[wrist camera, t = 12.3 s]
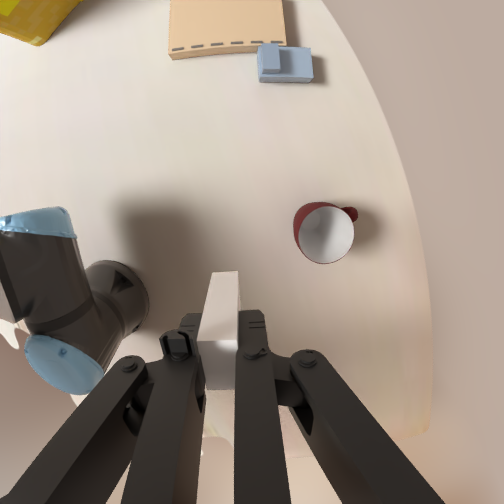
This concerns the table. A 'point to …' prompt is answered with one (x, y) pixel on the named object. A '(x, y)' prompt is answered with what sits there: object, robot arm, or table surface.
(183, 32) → the board
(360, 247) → the table surface
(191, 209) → the table surface
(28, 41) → the book
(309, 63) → the stub
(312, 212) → the mug
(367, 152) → the table surface
